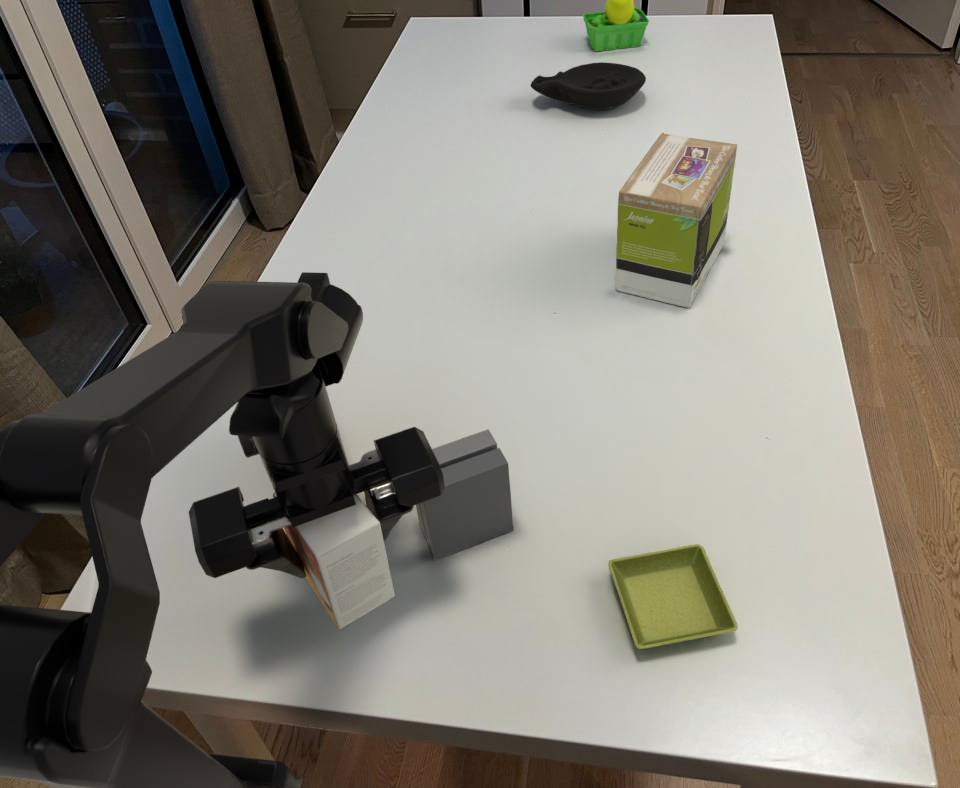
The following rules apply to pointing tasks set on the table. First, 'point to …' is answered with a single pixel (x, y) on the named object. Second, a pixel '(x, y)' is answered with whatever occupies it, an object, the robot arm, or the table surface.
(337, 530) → the small box
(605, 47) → the fruit basket
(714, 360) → the table surface
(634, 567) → the green square tray
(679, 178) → the tea box
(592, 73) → the oil lamp
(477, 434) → the grey grooved block
